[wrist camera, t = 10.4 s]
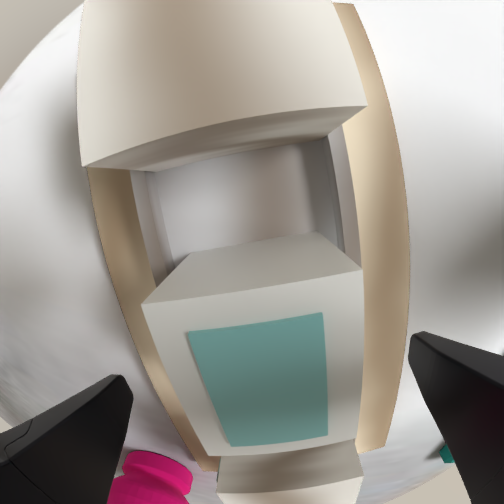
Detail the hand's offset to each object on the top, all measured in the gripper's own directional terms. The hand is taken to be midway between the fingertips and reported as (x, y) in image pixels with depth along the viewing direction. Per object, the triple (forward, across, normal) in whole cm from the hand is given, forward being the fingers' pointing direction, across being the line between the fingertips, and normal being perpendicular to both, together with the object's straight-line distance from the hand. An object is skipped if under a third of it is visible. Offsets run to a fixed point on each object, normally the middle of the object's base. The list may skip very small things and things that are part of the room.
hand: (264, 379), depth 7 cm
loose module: (+4, 0, 0) cm, 4 cm away
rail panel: (+6, 0, 0) cm, 6 cm away
